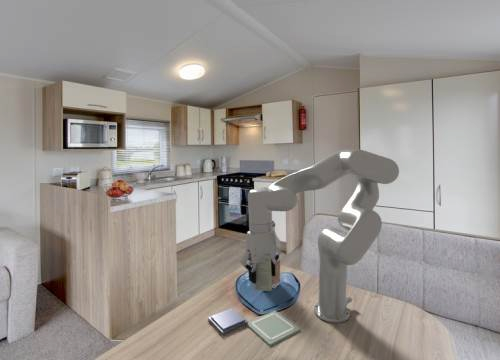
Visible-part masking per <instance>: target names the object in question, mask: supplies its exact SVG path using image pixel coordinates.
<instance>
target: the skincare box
mask: <svg viewBox="0 0 500 360" xmlns="http://www.w3.org/2000/svg"><path fill="white" fill-rule="evenodd" d="M252 265H253V263H252ZM254 271H255V272H256V283H255V284H254V283H252V288H253V291H268V292H269V291H272V290H273V289H272V272H271V256H270V254H268V255H265V256H264V260H263V262H261V263H258V264H257V265H256V268H255V270H254Z"/></svg>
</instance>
